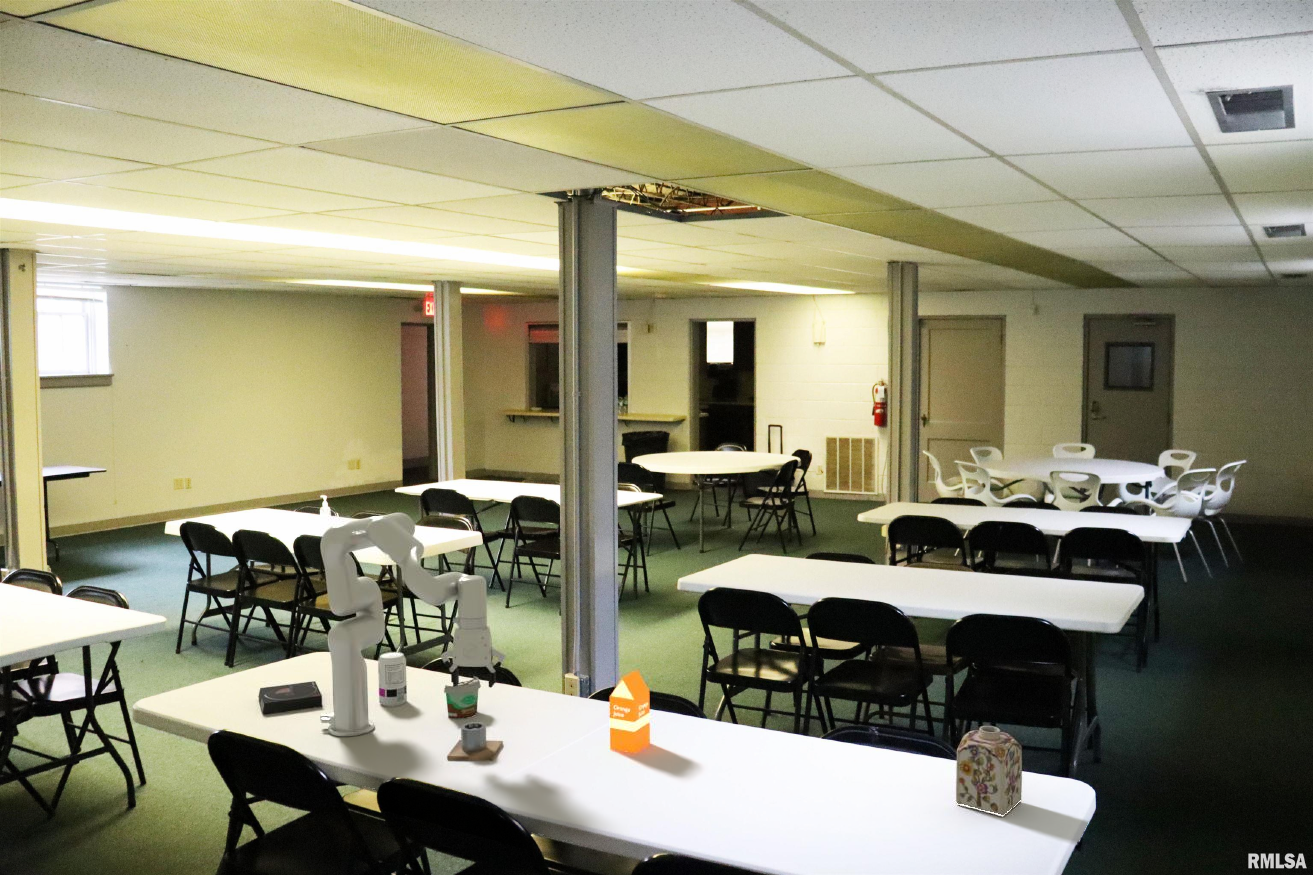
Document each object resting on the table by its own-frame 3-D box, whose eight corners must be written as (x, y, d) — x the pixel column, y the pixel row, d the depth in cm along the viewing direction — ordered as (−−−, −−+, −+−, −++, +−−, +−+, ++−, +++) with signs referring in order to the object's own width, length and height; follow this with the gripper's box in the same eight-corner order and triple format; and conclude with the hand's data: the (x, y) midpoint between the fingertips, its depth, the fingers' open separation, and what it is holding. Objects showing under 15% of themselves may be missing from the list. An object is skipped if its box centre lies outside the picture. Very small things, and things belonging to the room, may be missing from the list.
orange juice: (609, 749, 286) (608, 676, 284) (625, 738, 294) (625, 667, 292) (635, 753, 282) (634, 680, 281) (650, 743, 290) (650, 671, 289)
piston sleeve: (458, 752, 282) (458, 730, 281) (465, 743, 288) (464, 722, 288) (482, 752, 281) (482, 730, 281) (488, 744, 287) (488, 722, 287)
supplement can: (374, 706, 324) (372, 657, 323) (388, 697, 332) (387, 650, 330) (397, 708, 321) (396, 659, 320) (411, 700, 329) (410, 652, 328)
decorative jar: (974, 789, 257) (975, 716, 255) (1022, 802, 249) (1023, 727, 248) (954, 805, 248) (955, 730, 246) (1003, 819, 240) (1004, 741, 239)
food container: (458, 723, 307) (458, 689, 307) (444, 719, 311) (443, 685, 310) (489, 711, 317) (489, 679, 317) (475, 708, 321) (475, 675, 320)
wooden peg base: (447, 759, 279) (446, 737, 279) (459, 743, 291) (459, 721, 291) (492, 760, 278) (491, 738, 278) (502, 744, 290) (502, 722, 290)
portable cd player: (258, 700, 331) (258, 688, 331) (315, 693, 338) (315, 681, 338) (262, 716, 316) (262, 703, 316) (322, 708, 323) (321, 695, 323)
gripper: (436, 625, 279) (437, 689, 280) (501, 626, 278) (502, 690, 279) (444, 618, 287) (445, 680, 288) (507, 619, 285) (508, 682, 286)
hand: (473, 685), depth 283 cm, fingers open, 9 cm apart
